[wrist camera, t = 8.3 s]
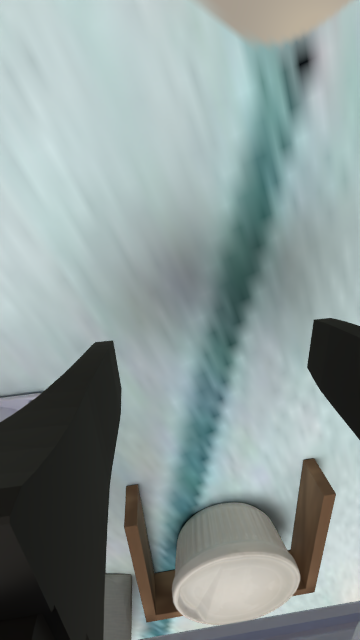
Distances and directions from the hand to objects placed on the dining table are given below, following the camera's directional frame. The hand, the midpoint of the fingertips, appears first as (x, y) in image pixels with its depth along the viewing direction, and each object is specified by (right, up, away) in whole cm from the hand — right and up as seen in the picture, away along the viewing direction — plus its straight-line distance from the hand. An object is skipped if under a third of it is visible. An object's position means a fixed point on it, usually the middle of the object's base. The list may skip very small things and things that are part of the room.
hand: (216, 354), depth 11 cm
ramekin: (+3, -20, +20) cm, 29 cm away
